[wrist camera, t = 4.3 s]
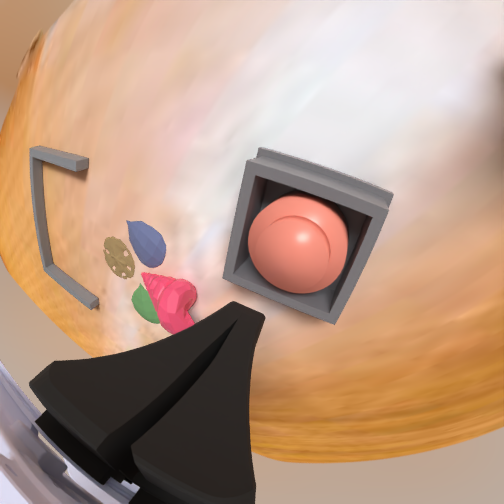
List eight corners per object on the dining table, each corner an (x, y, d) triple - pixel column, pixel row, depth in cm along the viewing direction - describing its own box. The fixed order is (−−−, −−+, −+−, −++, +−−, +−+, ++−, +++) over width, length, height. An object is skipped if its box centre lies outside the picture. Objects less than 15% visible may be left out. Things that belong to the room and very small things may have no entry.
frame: (99, 304, 30) (91, 310, 29) (51, 266, 33) (44, 270, 32) (88, 158, 21) (76, 161, 20) (39, 145, 24) (29, 148, 23)
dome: (330, 286, 16) (322, 317, 14) (253, 256, 18) (232, 280, 15) (362, 210, 14) (362, 229, 11) (273, 178, 15) (252, 189, 12)
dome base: (343, 303, 18) (338, 332, 15) (236, 260, 19) (215, 280, 17) (392, 192, 14) (399, 206, 11) (261, 147, 15) (241, 150, 13)
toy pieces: (182, 206, 20) (142, 225, 16) (220, 330, 24) (195, 363, 20) (95, 224, 25) (62, 240, 21) (131, 317, 29) (106, 339, 25)
